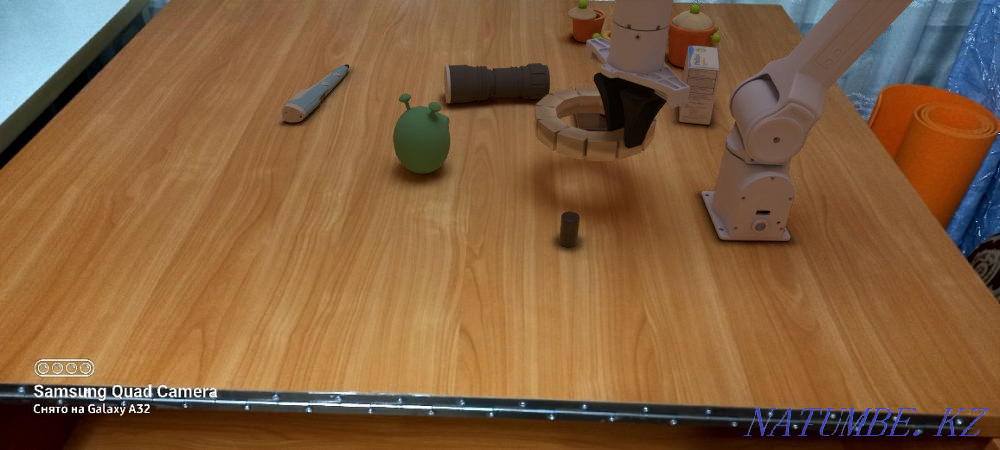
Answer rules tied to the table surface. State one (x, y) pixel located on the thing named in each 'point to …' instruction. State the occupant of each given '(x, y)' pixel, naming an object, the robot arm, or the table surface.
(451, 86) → the flashlight
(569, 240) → the low peg
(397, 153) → the alien toy
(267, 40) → the table surface
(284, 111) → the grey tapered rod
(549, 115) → the ring
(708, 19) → the toy tea set
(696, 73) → the medicine box
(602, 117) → the stand
